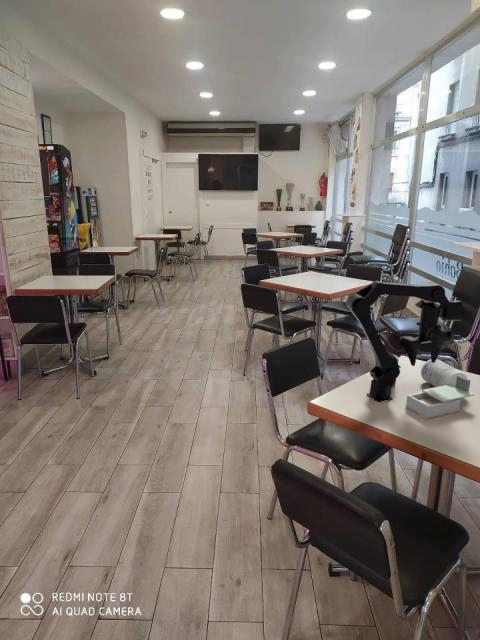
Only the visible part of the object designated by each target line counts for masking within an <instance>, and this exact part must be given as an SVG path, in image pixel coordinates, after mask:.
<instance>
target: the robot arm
mask: <svg viewBox="0 0 480 640" xmlns="http://www.w3.org/2000/svg"><path fill="white" fill-rule="evenodd" d="M382 295H386V296H400V297H411V298H412V297H413V298H418V299H419V300H420V301H417V303H415V304H414V305H415V307H417V308H419V309H420V317H419V321H416V325H417V326H418V332H415V334H414V337H413V336H410V335H409V336H407V335H406V336H402V337H401V338H399V346H401V348H404V350H405V352H406V354H407V358H408V360H409V363H410V365H411V367H412V366H413V367H415V365H416V363H417V362H416V361H417V357H418V356H417V355H418V353H419V352H420V351H422V350H421V347H422V344H423V345H424V344H430V345H429V346H430V359H431V361H432V362H433V363H435V361H436V359H438V358H439V355H440V354H441V352H442V351H443V349H444V348H445V349H446V348H448V347H449V346H450V345H452V344H453V343H454V342H455V338H456V337H455V335H456V333H455V332H454V331H452V330H451V331H442V324H439V320H440V319H441V320H442V322H443V321H444V322H448V321H449V322H461V321H462V320H463V319H464V318H465V309H464V306H463V301H461V300H458V299H457V300H449V299H448V297H447V295H446V289H445V288H444V287H443V286H442V285H439V284H437V283H435V282H432V281H425V282H419V283H413V284H412V283H399V282H387V281H381V280H373V282H371V283H369V285H367V286H364V287H363V288H361V289H359V290H358V291H357V292H355V293H352V294H350V295H348V297H347V298H346V301H345V305H346V307H347V308H348V310H349V311H350V313H352V315H353V317H355V319H356V320H357V321H358V323H359V325H360V327H361V330H362V331H363V333H364V335H365V337H366V339H367V342H368V344H369V346H370V347H371V350H372V352H373V354H374V361H375V364H376V366H375V365H374V367H373V368H372V369H371V370H369V375H370V376H371V378H373V379H372V380H371V381H370V387H369V388H370V389H369V392H368V393H366V396H368V397H369V398H371V399H373V400H374V401H376V402H378V403H382V402H386V401H390V400H394V398H393V396H391V393H392V387H391V386H392V385H393V383H394V381H395V379H396V380H397V379H398V377H399V376H400V374H401V365H399V361H398V362H397V359H396V357H395V356H394V355H395V354H394V355H393V353H392V352H390V351H389V352H388V351H387V350H386V349H387V348H386V347H385V345H384V343H383V340H382V339H381V336H380V335H379V332H378V331H377V328H376V326H375V323H374V322H373V319H372V312H371V306H373V305H374V304H375V302H377V300H379V298H380V297H381V296H382ZM436 303H437V304H436ZM439 318H440V319H439Z"/></svg>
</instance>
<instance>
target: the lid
mask: <svg viewBox="0 0 480 640" xmlns="http://www.w3.org/2000/svg"><path fill="white" fill-rule="evenodd" d="M471 381H472V380H471V379H469V378H468V379H466V378H464V377H462V376H457V379H456V385H454V384H450V385H445V386H440V387H430V388H426V389H422V391H421V392H424V393H426V394H428V395H430V396H432V397H434V398H436V399H438V400H440V401H442V402H448V401H452V400H457V399H461V400H462V399H464V398H465V399H466V398H469V397H473V396H475V393H473V392H471V391H469V390H470V386H471Z"/></svg>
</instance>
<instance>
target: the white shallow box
mask: <svg viewBox="0 0 480 640" xmlns="http://www.w3.org/2000/svg"><path fill="white" fill-rule="evenodd" d="M461 400H462V398H461V399H457V400H452V401H448V402H442V401H440V400H438V399H436V398H434V397H432V396H430V395H428V394H426V393H424V392H422V391H421V392H417V393H412V394H407V396H406V403H405V408H406V409H408V410H409V411H411V412H413V413H414V414H417V415H418V416H420V417H421V418H423V419H424V420H430V419H435V418H440V417H444V416H449V415H452V414H457V413H460V405H461Z"/></svg>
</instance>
